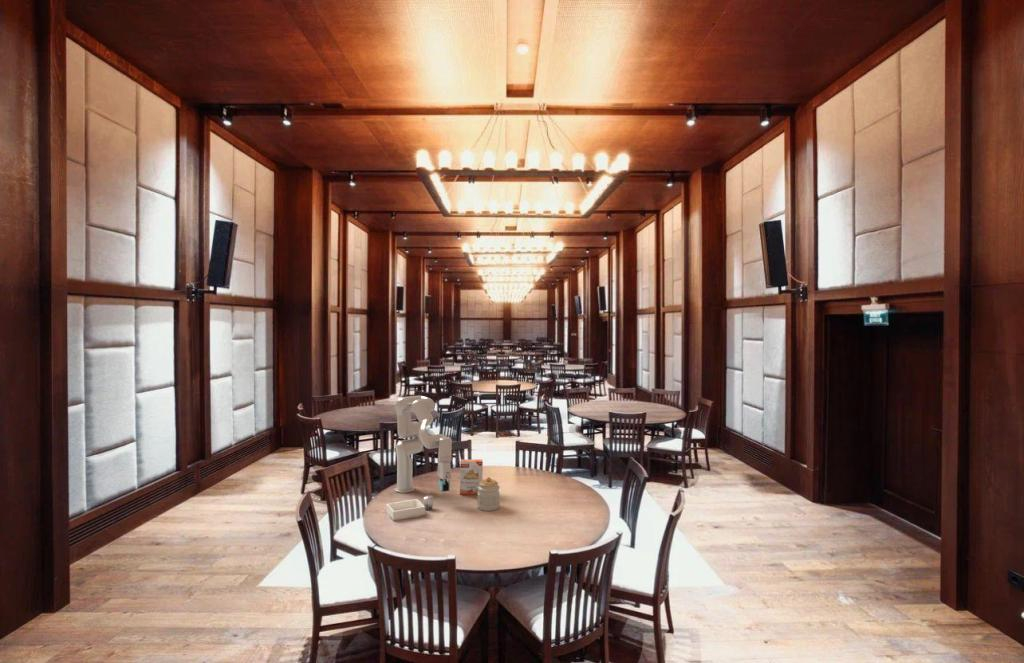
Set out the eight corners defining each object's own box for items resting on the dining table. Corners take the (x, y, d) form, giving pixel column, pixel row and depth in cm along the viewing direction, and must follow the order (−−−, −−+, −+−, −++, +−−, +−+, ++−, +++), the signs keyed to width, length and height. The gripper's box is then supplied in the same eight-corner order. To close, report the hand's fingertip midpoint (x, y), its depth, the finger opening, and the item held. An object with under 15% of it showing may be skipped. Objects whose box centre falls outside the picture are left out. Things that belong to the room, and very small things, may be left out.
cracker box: (459, 495, 330) (460, 461, 329) (459, 492, 336) (460, 459, 335) (482, 494, 331) (482, 461, 330) (482, 491, 337) (482, 458, 336)
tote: (386, 512, 299) (386, 503, 299) (417, 507, 307) (417, 498, 307) (393, 521, 286) (393, 511, 286) (425, 515, 295) (425, 506, 295)
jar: (473, 509, 306) (473, 478, 305) (483, 502, 318) (484, 472, 317) (493, 512, 300) (493, 481, 300) (503, 505, 312) (503, 475, 312)
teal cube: (438, 489, 311) (438, 480, 311) (446, 488, 314) (446, 479, 313) (441, 491, 307) (441, 483, 307) (449, 490, 309) (449, 482, 309)
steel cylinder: (422, 508, 306) (422, 496, 306) (430, 506, 309) (430, 494, 308) (425, 511, 302) (425, 498, 302) (433, 509, 304) (433, 497, 304)
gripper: (433, 455, 315) (432, 485, 316) (444, 463, 300) (443, 494, 301) (445, 454, 319) (444, 484, 319) (456, 461, 304) (455, 493, 304)
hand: (444, 488), depth 310 cm, fingers closed on teal cube, 4 cm apart
